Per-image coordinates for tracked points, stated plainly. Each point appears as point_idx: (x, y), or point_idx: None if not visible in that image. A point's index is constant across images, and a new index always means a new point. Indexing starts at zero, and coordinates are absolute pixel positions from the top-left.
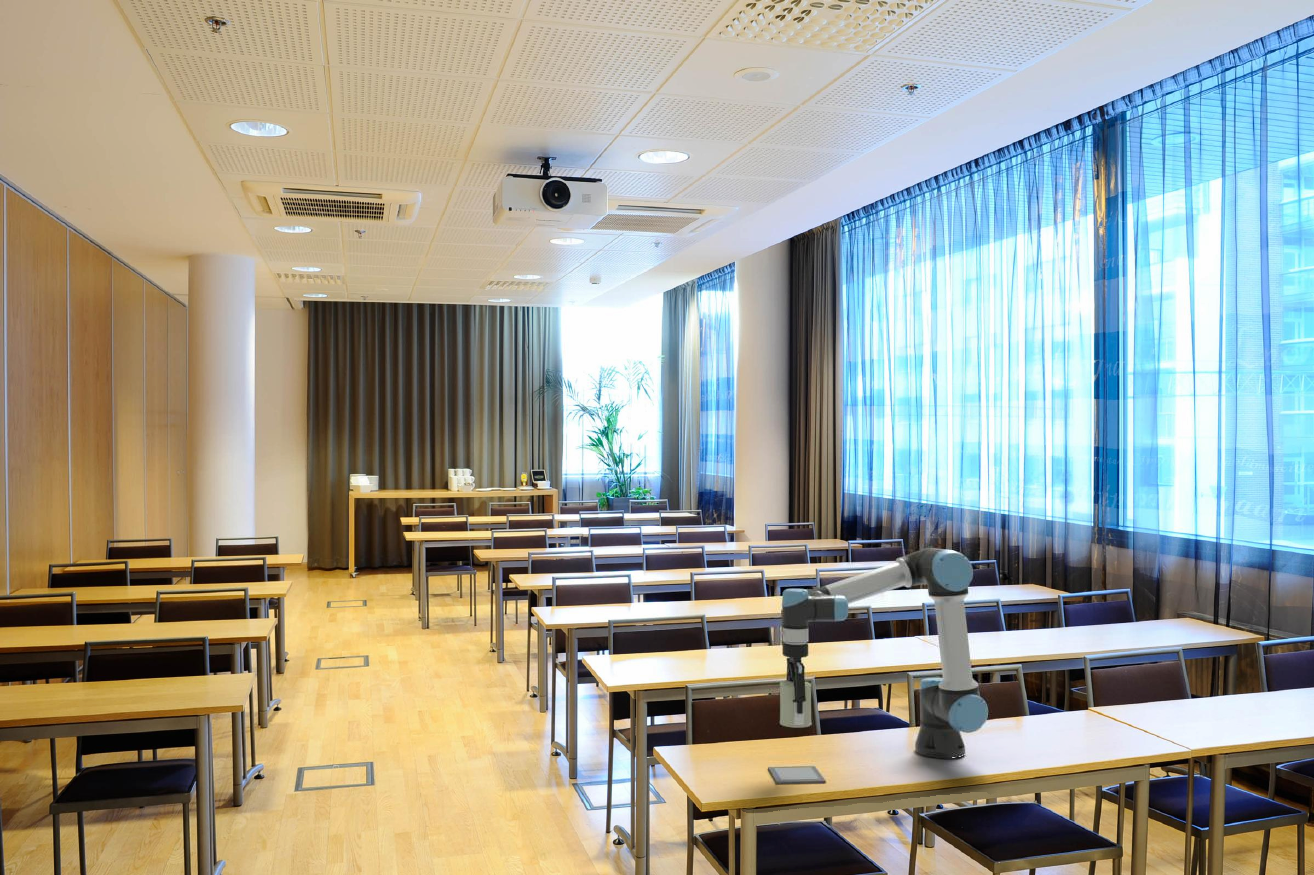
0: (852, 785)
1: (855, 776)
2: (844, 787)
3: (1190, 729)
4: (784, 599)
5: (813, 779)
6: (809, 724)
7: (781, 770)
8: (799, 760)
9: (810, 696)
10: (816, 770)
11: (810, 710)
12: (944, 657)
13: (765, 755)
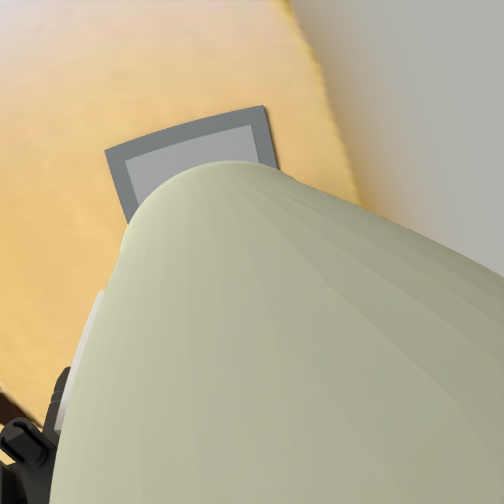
0: (271, 34)
1: (179, 20)
2: (293, 57)
3: None
4: None
5: (255, 143)
6: (287, 175)
7: None
8: (42, 211)
9: (408, 230)
10: (154, 137)
11: (296, 183)
12: None
13: (38, 311)
